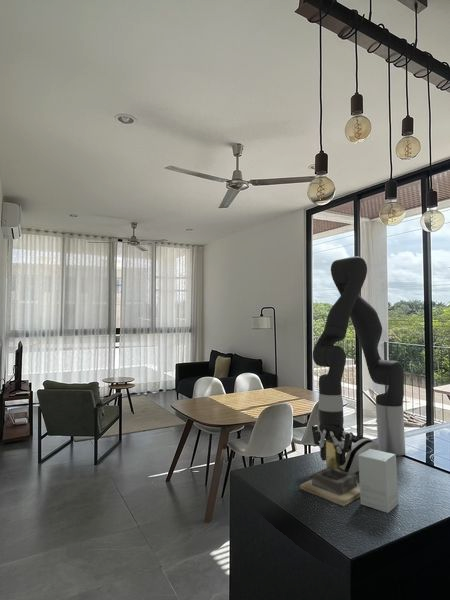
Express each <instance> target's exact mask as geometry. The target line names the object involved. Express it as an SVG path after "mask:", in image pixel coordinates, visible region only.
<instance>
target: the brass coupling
mask: <svg viewBox="0 0 450 600" xmlns="http://www.w3.org/2000/svg"><path fill="white" fill-rule="evenodd" d="M325 442H326V460H325V468H328V467H332V468H335V469H339V470H340V467H339V464H338V453H339V452H338V449H337V447H336V446H335V444H334V442H332V441H330V440H326V441H325ZM338 442H339V441H338Z"/></svg>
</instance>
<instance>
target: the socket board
mask: <svg viewBox="0 0 450 600" xmlns="http://www.w3.org/2000/svg"><path fill="white" fill-rule="evenodd" d="M357 481H358V480H357V475H356V474H355V473H354V474H351V473H348V472H347V471H346V470H345V471H344V470H343V469H341V470H339V469H335V468H332V467H328V468H326V467H325V468H323V469H321V470H318V471H317V472H314V473H312V474H311V479H309V480H307V481H305V482H302V483H301V484H300V486H299V487H300V488H299V489H300V490H302V491H304V492H307V493H308V494H309V493H310V494H312V495H314V496H317V497H320V498H322V499H325V500H327V501H330V502H331V503H334V504H337V505H340V506H342V507H346V506H347V505H349V504H350V503H352V502H354V501H355V500H357V499H359V498H360V482H359V483H358V482H357Z"/></svg>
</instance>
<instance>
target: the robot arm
mask: <svg viewBox="0 0 450 600" xmlns="http://www.w3.org/2000/svg"><path fill="white" fill-rule="evenodd" d="M367 273H368V266H367V263H366V261H365V259H364V258H363V257H361V256H351V257H345V258H341V259H335V260H334V261H333V262H332V263H331V265H330V274H331V279H332V281H333V283H334V285H335V286H336V289H337V291H338V293H339V295H340V296H339V298H338V299H337V300H336V301H335V302H334V304H333V305H332V306H331V308H330V310H329V312H328V315H327V317H326V321H325V324H324V330H323V332H322V333H321V335H320V337H319V338H318V340H317V342H316V344H314V345H315V346H314V348H313V350H312V359H313V362H314V364H315V365H316V366H319V367H324V368H328V371H327V373H325V374H321V375H319V377H318V422H319V424H314V425H312V426H311V431H312V437H313V443H314V445H315V446H318V447H319V453H320V455H319V456H320V458H321V460H322V461H324V462H326V442H325V441H326V440H330V441H332V442H334V444H335V446H336V447H337V449H338V452H339V453H338V464H339V465H340V466H342V465H344V463H345V462H346V460H345V457H346V454H347V452H349V451H351V447H352V445H353V438H354V434H353V432H352V431H351V432H348V431H346V430H345V428H344V423H345V422H344V421H345V420H344V401H343V399H344V398H343V393H342V380H343V375H344V370H345V366H346V362H347V356H346V352H345V350H344V348H343V347H342V346H341V345H336V344H335V343H338V342H341V341H343V340H345V338H346V335H347V331H348V327H349V322H350V321H351V323H352V326H353V329H354V331H355V334H356V336H357V338H358V341H359V344H360V346H361V347H360V348H361V349H362V352H363V355H364V359H365V360H364V361H365V364H366V367H367V370H368V374H369V377H370V379H371V380H372V382H373V383H374V384H377V385H380V386H381V385H382V386H387V391H386V392H384V393H380V394H377V395H375V413H376V415H375V417H376V434H377V435H376V436H377V444H378V445H379V447H378V451H382V452H387V453H392V454H396V457H397V456H404V455H405V454H406V440H405V439H406V438H405V437H406V436H405V434H406V433H405V419H404V418H405V417H404V396H405V372H404V367H403V365H402V362H399V361H397V360H389V359H388V360H387V359H386V360H385V359H382V358H381V355H380V353H379V349H378V347H379V343H380V341H381V337H382V334H383V326H382V322H381V320H380V317H379V314H378V312H377V310H376V309H375V308H374V307H373V306H372V304H370V303H369V302H368V301H367V300H366V299H364V298H363V297H362V296H361V295H360V293H361V290H362V288H363V286H364V283H365V281H366V278H367ZM338 441H339V442H338Z"/></svg>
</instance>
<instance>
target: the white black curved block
mask: <svg viewBox="0 0 450 600" xmlns="http://www.w3.org/2000/svg"><path fill="white" fill-rule="evenodd" d="M378 447H379V445H378V442H377V441H373V440H372V439H370V438H361V439H359V440H358V441H356V442H355V443H352V447H351V451H349V452H347V453H345V460H346V462H345V463H344V465H342V466H340V465H339V467H340V470H342V471H345V472H348V473H351V474H354V475H355V474H356V473H357V472H359V462H358V455H360V454H361V453H363V452H365V451H367V450H368V449H373V450H378Z"/></svg>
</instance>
